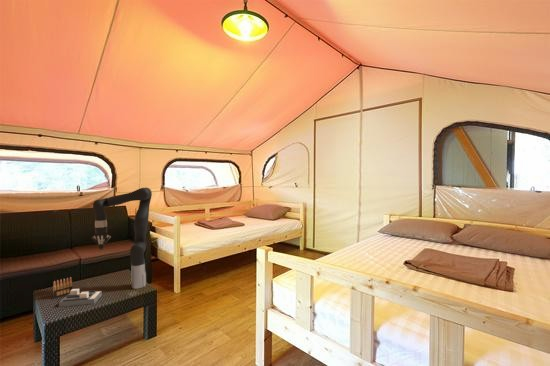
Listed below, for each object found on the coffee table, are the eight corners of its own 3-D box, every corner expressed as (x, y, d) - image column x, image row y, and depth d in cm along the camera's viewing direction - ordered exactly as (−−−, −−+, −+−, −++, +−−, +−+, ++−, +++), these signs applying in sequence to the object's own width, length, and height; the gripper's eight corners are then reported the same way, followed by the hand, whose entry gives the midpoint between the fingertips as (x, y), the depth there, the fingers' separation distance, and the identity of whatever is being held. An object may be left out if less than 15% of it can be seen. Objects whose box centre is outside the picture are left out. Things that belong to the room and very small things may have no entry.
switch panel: (101, 295, 182) (101, 289, 182) (94, 303, 170) (94, 297, 170) (69, 297, 177) (68, 292, 177) (58, 306, 166) (58, 300, 165)
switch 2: (88, 296, 173) (88, 291, 173) (86, 298, 170) (86, 293, 170) (82, 296, 172) (81, 292, 172) (79, 299, 170) (79, 294, 169)
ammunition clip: (53, 298, 176) (52, 281, 176) (52, 297, 177) (52, 280, 177) (72, 293, 184) (72, 276, 184) (72, 292, 185) (71, 275, 185)
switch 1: (79, 293, 177) (79, 288, 177) (77, 295, 174) (77, 290, 174) (72, 293, 176) (72, 289, 176) (70, 295, 173) (70, 291, 173)
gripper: (112, 224, 197) (113, 247, 198) (93, 225, 194) (93, 247, 195) (109, 226, 190) (109, 250, 191) (88, 227, 187) (89, 251, 188)
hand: (101, 248), depth 193 cm, fingers closed
